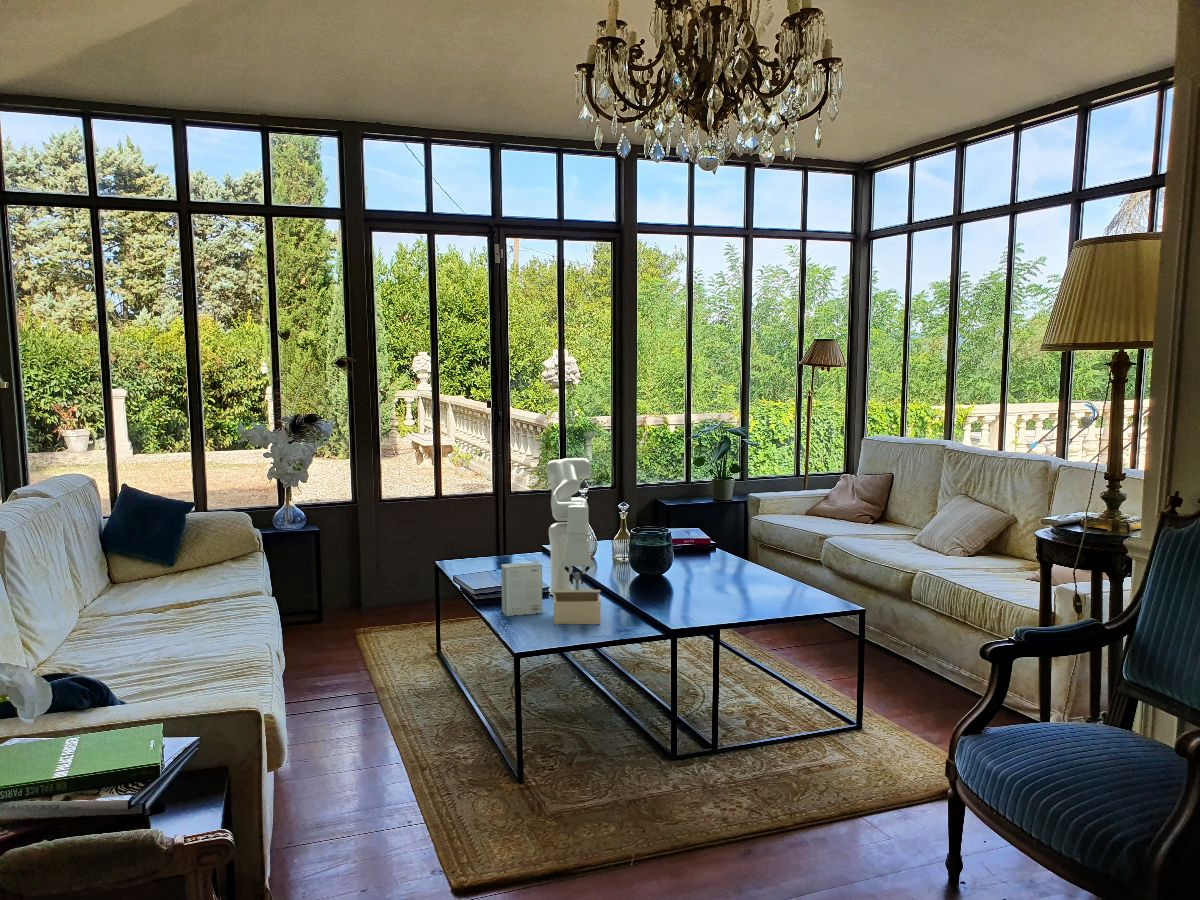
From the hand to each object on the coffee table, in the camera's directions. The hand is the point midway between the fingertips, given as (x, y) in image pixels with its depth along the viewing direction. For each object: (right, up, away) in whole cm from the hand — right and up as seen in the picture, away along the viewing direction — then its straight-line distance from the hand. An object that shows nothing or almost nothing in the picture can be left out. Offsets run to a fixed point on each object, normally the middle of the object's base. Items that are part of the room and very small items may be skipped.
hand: (577, 582), depth 328 cm
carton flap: (0, -4, +4) cm, 6 cm away
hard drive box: (-23, -15, +14) cm, 31 cm away
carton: (0, -15, +4) cm, 16 cm away
